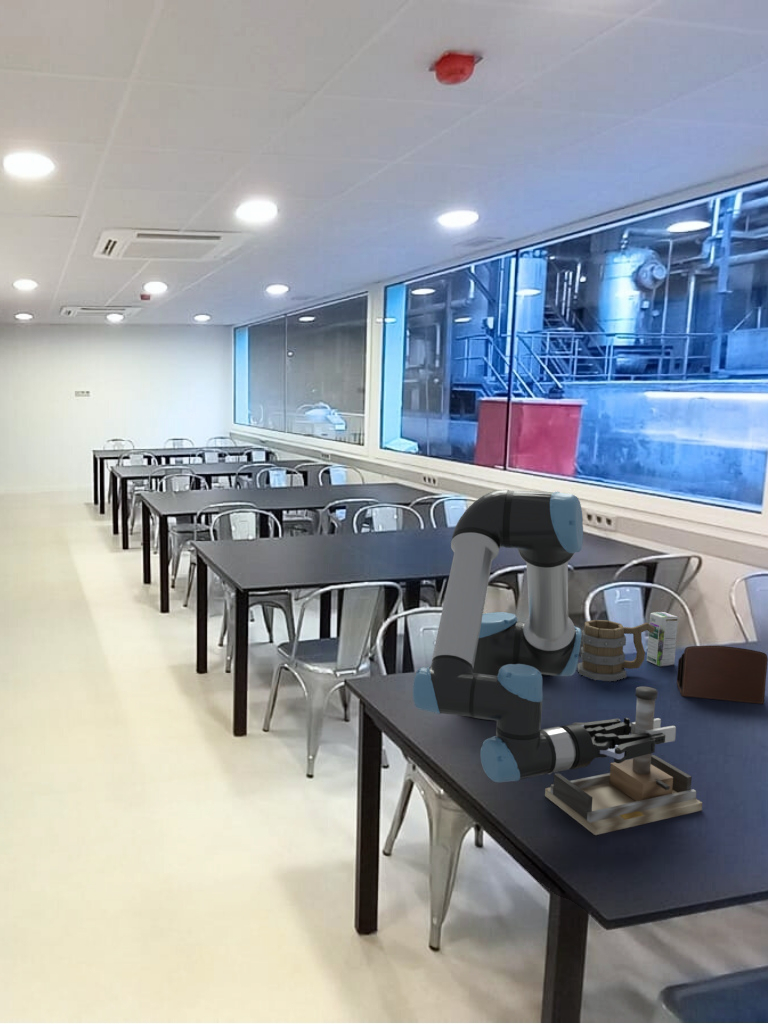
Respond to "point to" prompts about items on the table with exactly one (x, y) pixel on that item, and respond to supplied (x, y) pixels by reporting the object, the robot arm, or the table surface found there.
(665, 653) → the syrup box
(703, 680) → the letter holder
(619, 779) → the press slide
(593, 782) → the press bed
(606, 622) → the tankard
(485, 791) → the table surface
